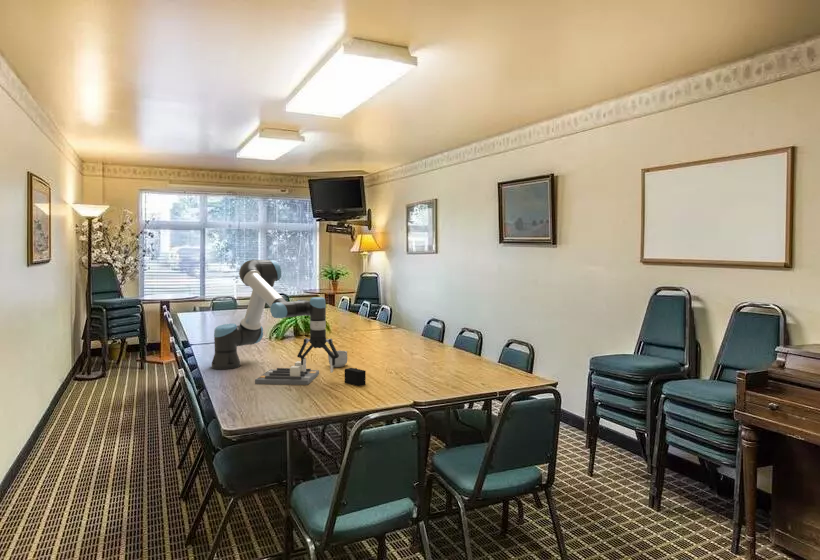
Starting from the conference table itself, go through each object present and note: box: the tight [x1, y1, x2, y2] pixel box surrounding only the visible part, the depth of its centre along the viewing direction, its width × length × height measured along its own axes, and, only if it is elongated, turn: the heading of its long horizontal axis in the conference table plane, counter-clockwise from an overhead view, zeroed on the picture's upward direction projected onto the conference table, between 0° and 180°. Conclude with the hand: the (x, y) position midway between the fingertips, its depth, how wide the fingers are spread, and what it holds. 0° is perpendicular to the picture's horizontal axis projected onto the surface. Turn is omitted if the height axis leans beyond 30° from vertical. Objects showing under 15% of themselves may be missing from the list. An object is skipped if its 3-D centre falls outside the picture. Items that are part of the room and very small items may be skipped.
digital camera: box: [344, 367, 366, 387], centre depth 247 cm, size 10×5×7 cm, turn 51°
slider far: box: [294, 360, 303, 371], centre depth 261 cm, size 4×4×5 cm
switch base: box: [254, 367, 320, 386], centre depth 256 cm, size 26×22×3 cm
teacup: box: [327, 350, 348, 368], centre depth 286 cm, size 14×11×8 cm
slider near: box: [289, 365, 300, 376], centre depth 250 cm, size 4×4×5 cm
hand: (318, 371), depth 250 cm, fingers open, 13 cm apart
